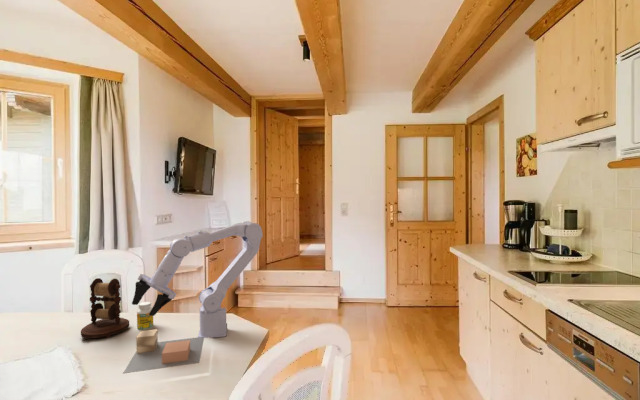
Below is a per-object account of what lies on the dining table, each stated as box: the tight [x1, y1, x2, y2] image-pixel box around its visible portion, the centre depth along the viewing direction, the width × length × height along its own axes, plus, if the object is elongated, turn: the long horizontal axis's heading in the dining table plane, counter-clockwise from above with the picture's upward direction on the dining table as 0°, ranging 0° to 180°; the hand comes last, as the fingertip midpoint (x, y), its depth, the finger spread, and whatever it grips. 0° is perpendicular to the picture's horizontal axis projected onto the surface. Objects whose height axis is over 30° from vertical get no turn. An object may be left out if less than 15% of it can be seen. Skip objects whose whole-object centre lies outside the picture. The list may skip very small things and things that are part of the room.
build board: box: [122, 336, 205, 374], centre depth 100 cm, size 20×18×4 cm
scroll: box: [80, 277, 130, 339], centre depth 116 cm, size 15×15×20 cm
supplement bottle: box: [136, 301, 154, 331], centre depth 120 cm, size 5×5×10 cm
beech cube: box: [135, 328, 159, 353], centre depth 103 cm, size 5×5×5 cm
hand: (142, 309), depth 104 cm, fingers open, 7 cm apart
